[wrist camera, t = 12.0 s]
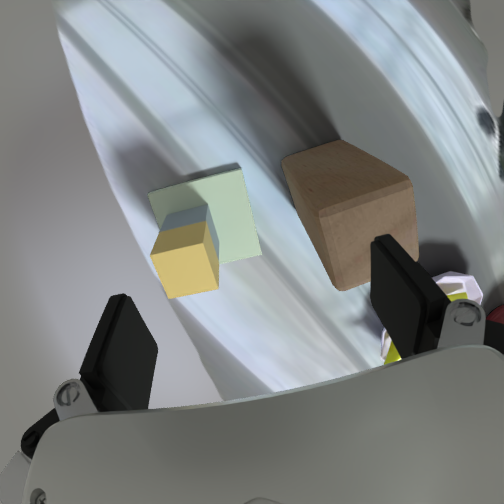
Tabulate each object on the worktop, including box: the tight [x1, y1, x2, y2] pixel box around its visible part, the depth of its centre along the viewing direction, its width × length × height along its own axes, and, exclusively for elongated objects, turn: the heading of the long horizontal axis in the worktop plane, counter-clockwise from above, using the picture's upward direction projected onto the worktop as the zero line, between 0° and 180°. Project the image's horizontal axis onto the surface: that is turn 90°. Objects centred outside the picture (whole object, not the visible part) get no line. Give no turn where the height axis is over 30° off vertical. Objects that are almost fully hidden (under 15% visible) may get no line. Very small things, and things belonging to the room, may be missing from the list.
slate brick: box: [159, 204, 220, 260], centre depth 44 cm, size 6×6×6 cm
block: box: [281, 140, 419, 291], centre depth 36 cm, size 10×10×20 cm
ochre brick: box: [150, 221, 219, 299], centre depth 38 cm, size 6×6×6 cm
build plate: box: [147, 168, 262, 264], centre depth 47 cm, size 14×14×1 cm
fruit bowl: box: [381, 271, 483, 365], centre depth 56 cm, size 28×27×11 cm
